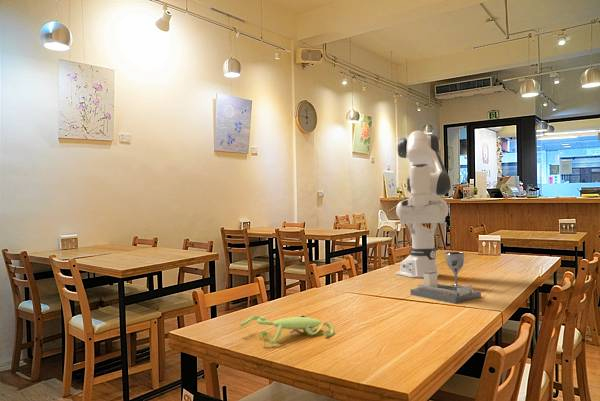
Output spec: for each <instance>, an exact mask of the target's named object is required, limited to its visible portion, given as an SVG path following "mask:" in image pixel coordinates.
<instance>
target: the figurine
mask: <svg viewBox="0 0 600 401" xmlns="http://www.w3.org/2000/svg"><path fill="white" fill-rule="evenodd" d="M252 321H256V322H257V323H258V325H260V326H261V325H262V326H274V327H276V328H277V331H276V334H275V337H274V338H273V339H272V340H271V338H270V336H269V334H268V332H267V330H266V329H263V330H261V331H260V337H261V339H262V341H263V345H264V347H265V346H266V343H265V342H266V341H265V337H264V335H266V336H267V341H268V343H269V344H270V345H275V344H276V343H277V342H278V341H279V339H280V336H281V334H282V330H290V331H289V335H292V334H294V333H295V332H296V331H297V330H302V331H305V332H306V333H307V334H308V335H310V336H315V335H316V334H318V332H320V331H321V329H322V327H323V326H326V327H327V328H328V329H329V330H330V332H327V331H326V330H323V331H322V334H323V335H325V337H332V336H333V334H334V335H335V329H334V327H333V325H332V324H330V323H329V322H326V321H324V322H321V321H320V320H319V319H317V318H313V317H307V316H305V315H301V316H295V317H294V316H293V317H287V318H286V317H285V318H279V319H277V320H275V321H270V320H268V321H266V317H265V316H263V315H257V316H250V317H248V319H246V320H245V321H243V322H241V323H240V328H243V327H245V326H246V325H248V324H249V323H250V322H252ZM319 325H320V326H319ZM318 326H319V327H318ZM315 327H318V329H316V331H315ZM266 347H267V346H266Z"/></svg>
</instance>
